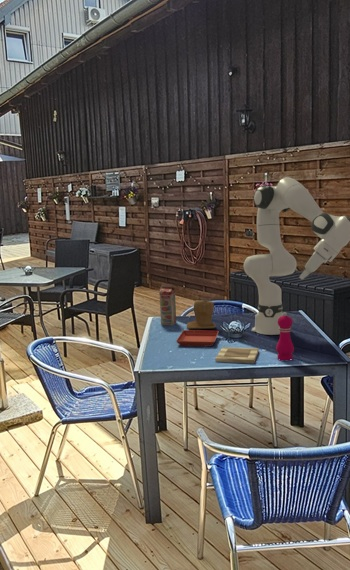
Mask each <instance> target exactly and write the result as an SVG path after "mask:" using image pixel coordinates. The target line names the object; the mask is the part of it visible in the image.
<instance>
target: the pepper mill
mask: <svg viewBox="0 0 350 570" xmlns="http://www.w3.org/2000/svg"><path fill="white" fill-rule="evenodd" d="M278 325H279V326H280V327H279V331H280V334H279V339H278V342H277V343H276V347H275V348H276V349H275V350H276V352H277V353H278V354H277V360H278V359H280V360H279V361H281V360H290V359H292V360H293V358H294V355H293V352H294V351H295V346H294V343H293V342H292V339H291V332H292V327H291V326H293V319H292V317H291V316H288V312H286V311H285V312H283V316H281V317H280V318H279V319H278Z"/></svg>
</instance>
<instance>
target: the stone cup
mask: <svg viewBox="0 0 350 570" xmlns="http://www.w3.org/2000/svg"><path fill="white" fill-rule="evenodd" d="M214 309H215V304H214V302H213V301H211V300H197V299H196V300H195V301H194V304H193V313H194V316H195V317H194V318H195V320H193V321H189V322H187V324H186V329H187V330H209V329H215V328H216V327H217V325H216V323H214V322H212V318H213V315H214V314H213V313H214Z"/></svg>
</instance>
